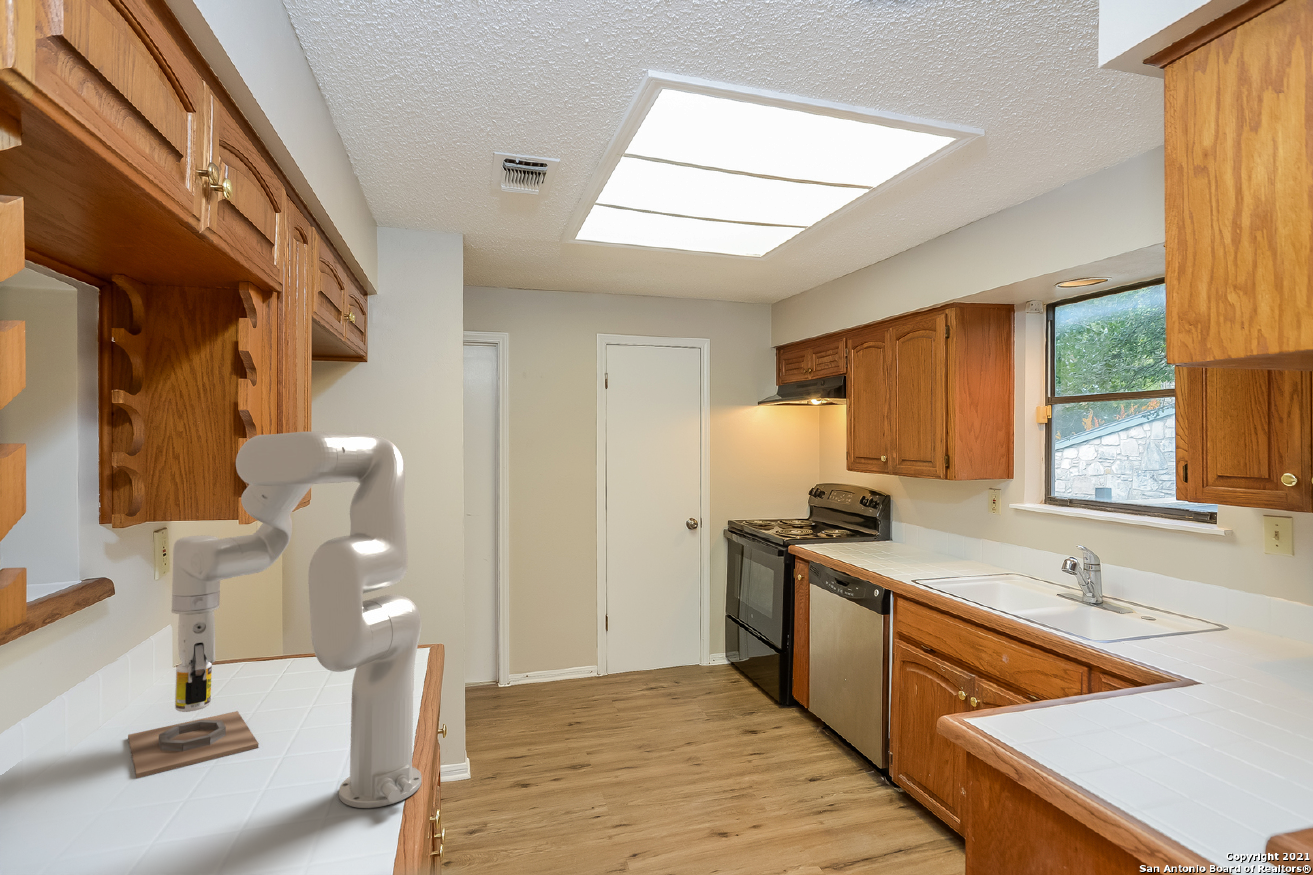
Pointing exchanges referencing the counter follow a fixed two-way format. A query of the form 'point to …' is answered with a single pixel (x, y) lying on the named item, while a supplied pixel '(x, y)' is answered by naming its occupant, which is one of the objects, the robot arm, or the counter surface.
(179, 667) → the supplement bottle
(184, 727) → the ring board
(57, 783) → the counter surface
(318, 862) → the counter surface
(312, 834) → the counter surface
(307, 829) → the counter surface
